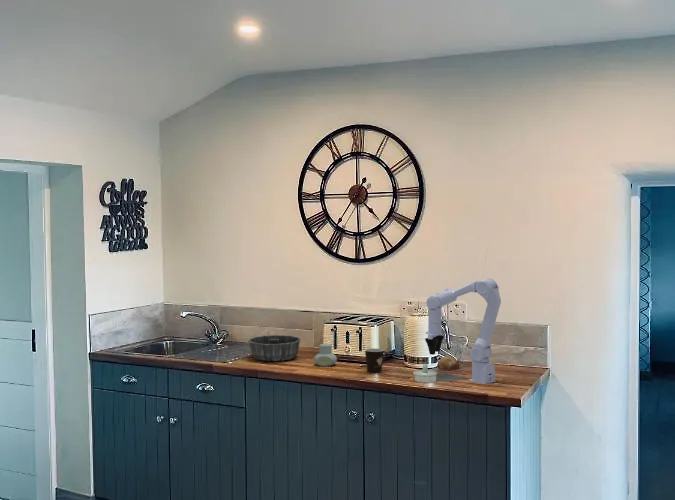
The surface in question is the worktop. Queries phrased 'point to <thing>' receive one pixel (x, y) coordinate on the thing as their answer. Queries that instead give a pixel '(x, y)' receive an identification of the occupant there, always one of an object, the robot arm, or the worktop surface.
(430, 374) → the lid
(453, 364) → the bread roll
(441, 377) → the mat
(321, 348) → the air freshener
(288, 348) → the bundt pan
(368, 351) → the coffee mug
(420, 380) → the ramekin
